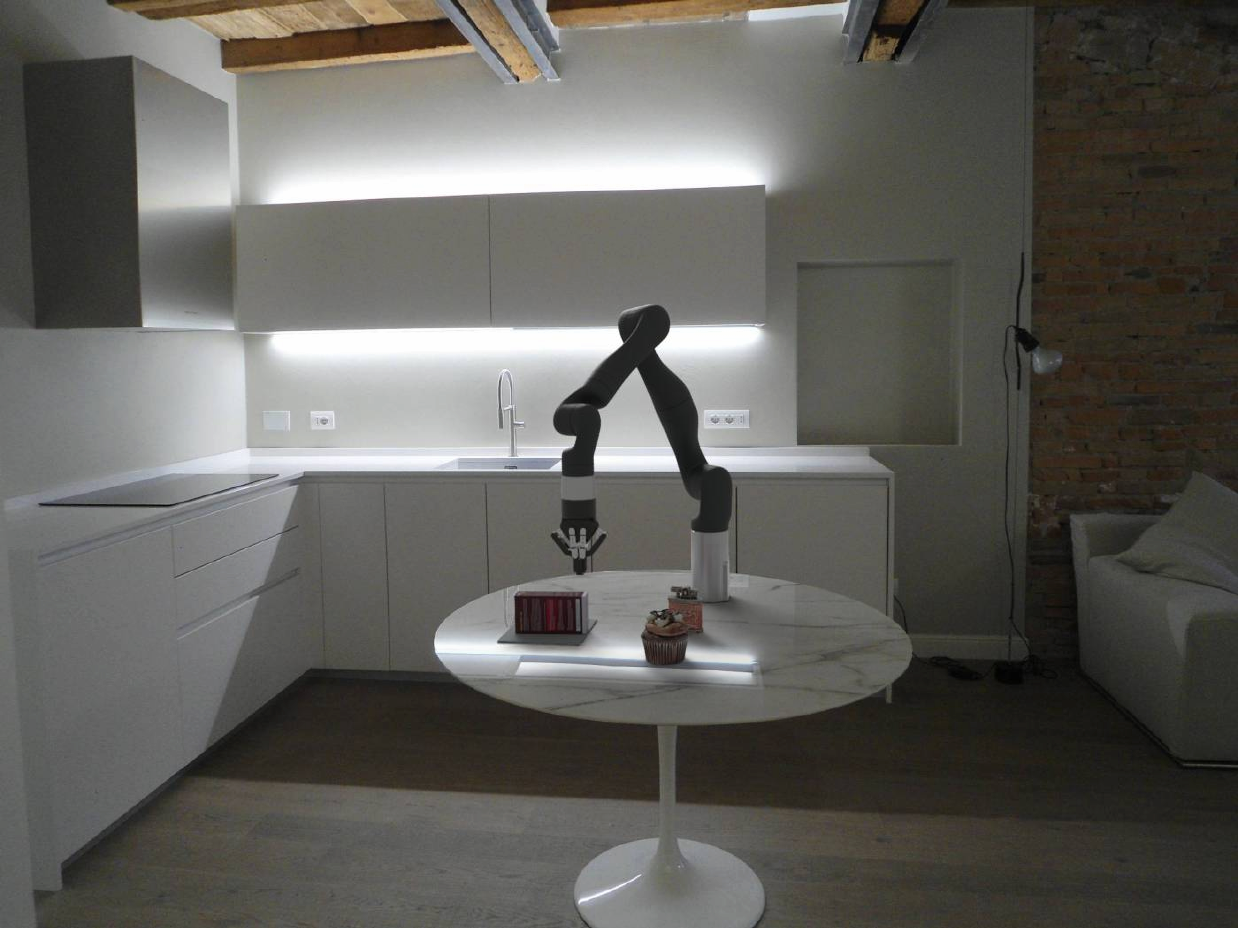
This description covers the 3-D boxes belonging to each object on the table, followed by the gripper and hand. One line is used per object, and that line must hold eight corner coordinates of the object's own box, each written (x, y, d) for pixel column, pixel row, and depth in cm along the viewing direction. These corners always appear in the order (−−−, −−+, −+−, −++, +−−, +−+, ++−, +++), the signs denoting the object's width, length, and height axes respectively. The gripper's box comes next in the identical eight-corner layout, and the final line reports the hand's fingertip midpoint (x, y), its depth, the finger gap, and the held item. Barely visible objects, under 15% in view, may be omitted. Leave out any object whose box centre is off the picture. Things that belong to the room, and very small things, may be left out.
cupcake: (699, 658, 187) (698, 609, 186) (664, 670, 181) (663, 619, 179) (665, 647, 194) (665, 600, 193) (631, 658, 188) (630, 610, 187)
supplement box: (588, 590, 207) (517, 589, 208) (585, 596, 202) (513, 595, 203) (589, 629, 208) (518, 627, 209) (586, 635, 203) (514, 633, 204)
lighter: (705, 630, 205) (705, 586, 204) (700, 634, 202) (699, 589, 201) (671, 626, 209) (670, 583, 208) (665, 630, 206) (665, 586, 205)
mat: (596, 621, 214) (596, 619, 214) (579, 645, 197) (579, 643, 197) (521, 618, 218) (521, 616, 217) (497, 642, 200) (497, 640, 200)
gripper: (611, 493, 204) (613, 571, 206) (553, 493, 207) (555, 569, 209) (605, 498, 197) (606, 579, 199) (544, 498, 199) (546, 577, 201)
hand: (580, 574), depth 204 cm, fingers closed
